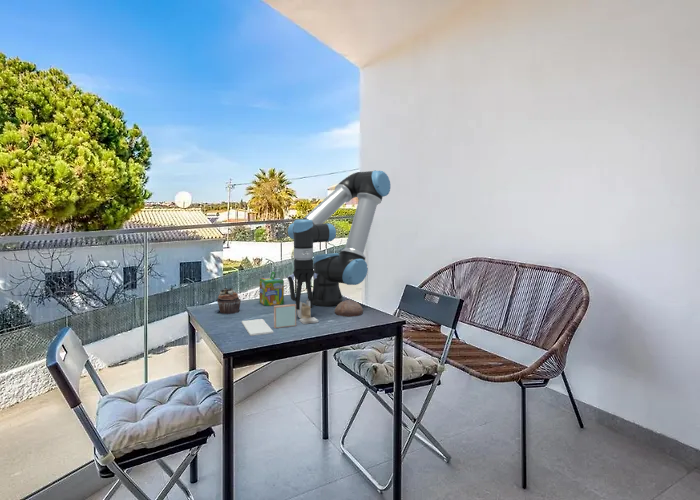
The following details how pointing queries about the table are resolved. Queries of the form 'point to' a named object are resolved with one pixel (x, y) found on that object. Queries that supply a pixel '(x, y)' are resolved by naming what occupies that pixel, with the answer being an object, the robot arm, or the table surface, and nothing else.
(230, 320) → the table surface
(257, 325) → the mat
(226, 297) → the cupcake
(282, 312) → the tile
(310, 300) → the robot arm
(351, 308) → the decorative stone
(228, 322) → the table surface
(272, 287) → the chalk box
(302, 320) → the beige boxy piece
